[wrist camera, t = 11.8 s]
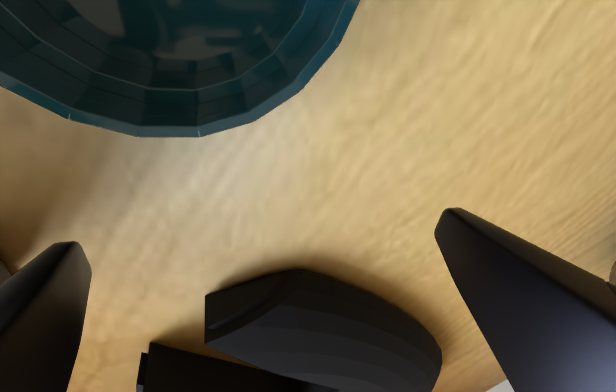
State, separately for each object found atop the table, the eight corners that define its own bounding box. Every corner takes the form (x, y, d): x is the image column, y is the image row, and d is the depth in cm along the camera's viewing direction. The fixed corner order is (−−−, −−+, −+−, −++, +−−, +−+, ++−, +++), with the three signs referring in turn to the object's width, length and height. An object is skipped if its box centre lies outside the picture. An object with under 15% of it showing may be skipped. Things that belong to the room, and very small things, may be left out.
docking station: (341, 423, 54) (351, 460, 50) (92, 388, 30) (75, 452, 27) (470, 349, 47) (493, 385, 44) (278, 230, 24) (291, 285, 20)
